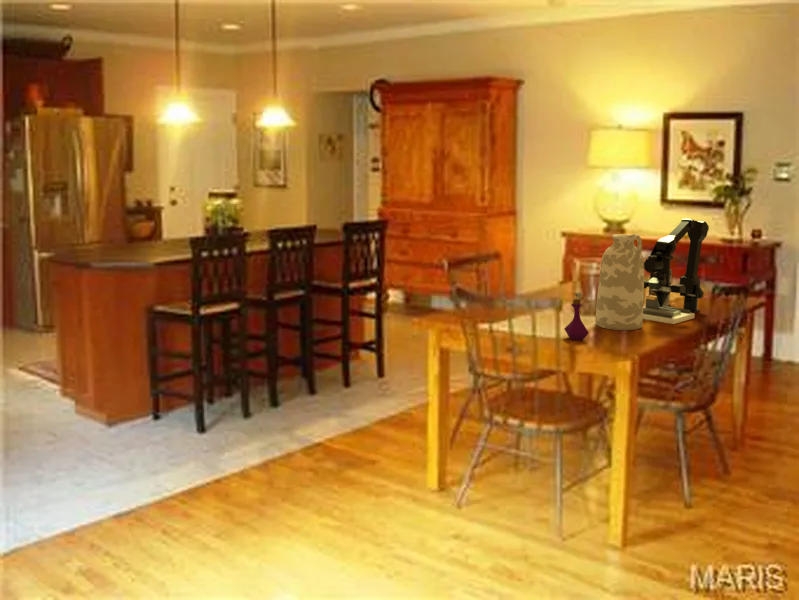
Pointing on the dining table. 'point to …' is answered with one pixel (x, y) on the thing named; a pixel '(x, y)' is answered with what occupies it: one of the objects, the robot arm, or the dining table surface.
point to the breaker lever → (652, 302)
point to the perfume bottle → (576, 322)
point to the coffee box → (655, 294)
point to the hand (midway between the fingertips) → (661, 306)
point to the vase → (621, 285)
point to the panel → (667, 314)
